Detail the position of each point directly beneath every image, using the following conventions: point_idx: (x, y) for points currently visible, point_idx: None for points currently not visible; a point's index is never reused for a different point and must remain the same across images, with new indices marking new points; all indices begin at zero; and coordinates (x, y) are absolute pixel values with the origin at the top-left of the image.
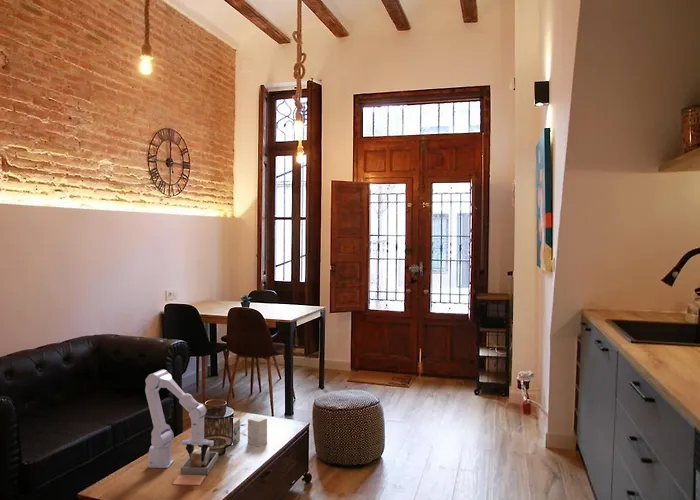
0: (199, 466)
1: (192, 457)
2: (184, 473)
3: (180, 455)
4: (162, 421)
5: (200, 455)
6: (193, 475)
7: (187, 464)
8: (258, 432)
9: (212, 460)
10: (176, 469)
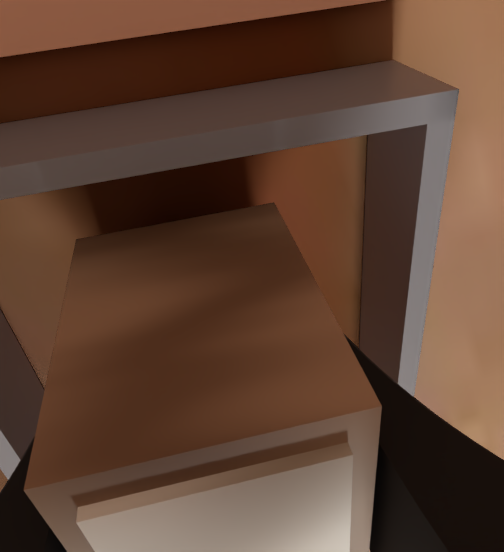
0: (88, 248)
1: (286, 345)
2: (329, 72)
3: (497, 455)
4: None
5: (38, 467)
6: (105, 6)
7: (374, 317)
8: None
9: (5, 471)
10: (489, 195)
